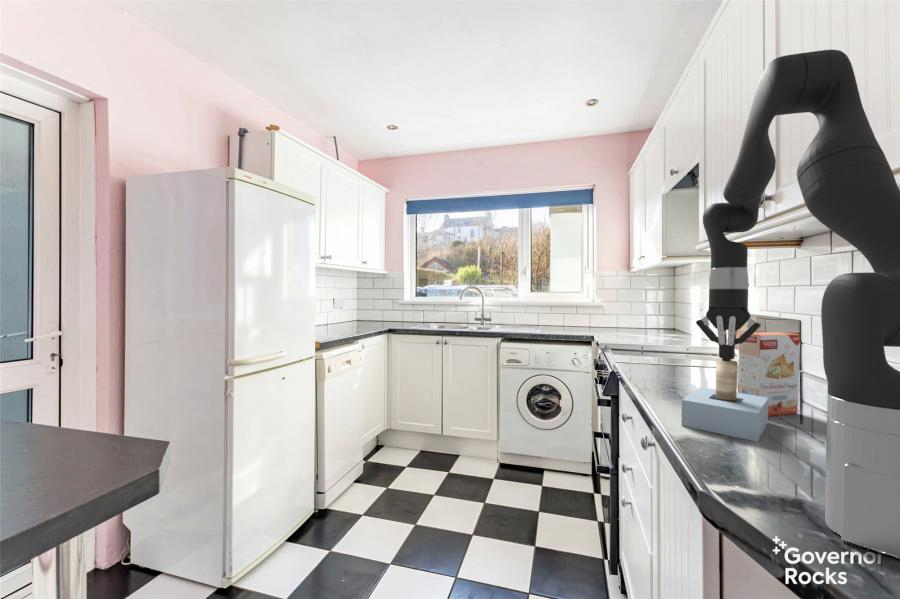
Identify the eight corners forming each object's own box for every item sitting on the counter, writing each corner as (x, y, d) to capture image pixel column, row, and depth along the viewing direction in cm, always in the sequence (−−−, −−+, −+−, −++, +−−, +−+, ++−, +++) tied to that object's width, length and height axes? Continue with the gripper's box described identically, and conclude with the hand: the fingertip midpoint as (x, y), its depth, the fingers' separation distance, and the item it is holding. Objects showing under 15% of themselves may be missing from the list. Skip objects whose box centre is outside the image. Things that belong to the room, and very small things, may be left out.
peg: (734, 423, 89) (735, 362, 89) (713, 419, 92) (714, 360, 92) (737, 419, 92) (739, 360, 92) (716, 415, 95) (717, 358, 95)
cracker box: (759, 418, 96) (761, 334, 96) (735, 411, 102) (737, 332, 102) (800, 414, 100) (801, 333, 100) (775, 407, 106) (776, 331, 106)
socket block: (757, 441, 81) (758, 413, 81) (681, 425, 90) (681, 399, 90) (768, 422, 93) (768, 397, 93) (700, 409, 103) (700, 387, 103)
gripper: (691, 287, 94) (690, 359, 94) (761, 287, 84) (760, 366, 85) (699, 287, 99) (698, 355, 99) (766, 287, 90) (764, 362, 90)
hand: (726, 360), depth 92 cm, fingers closed
